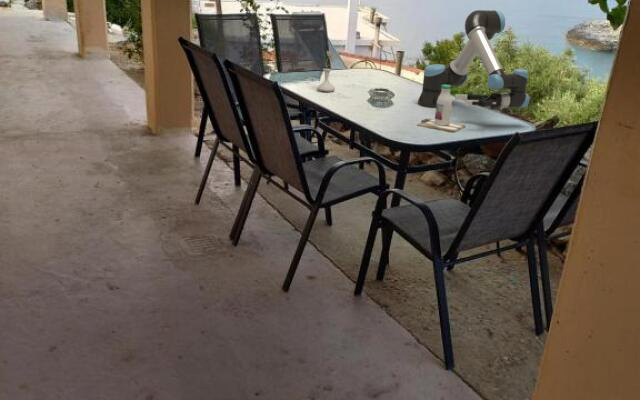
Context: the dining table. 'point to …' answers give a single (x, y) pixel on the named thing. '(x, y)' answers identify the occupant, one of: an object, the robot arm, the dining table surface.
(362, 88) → the dining table surface
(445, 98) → the milk bottle
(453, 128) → the clipboard
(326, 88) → the flower in vase
